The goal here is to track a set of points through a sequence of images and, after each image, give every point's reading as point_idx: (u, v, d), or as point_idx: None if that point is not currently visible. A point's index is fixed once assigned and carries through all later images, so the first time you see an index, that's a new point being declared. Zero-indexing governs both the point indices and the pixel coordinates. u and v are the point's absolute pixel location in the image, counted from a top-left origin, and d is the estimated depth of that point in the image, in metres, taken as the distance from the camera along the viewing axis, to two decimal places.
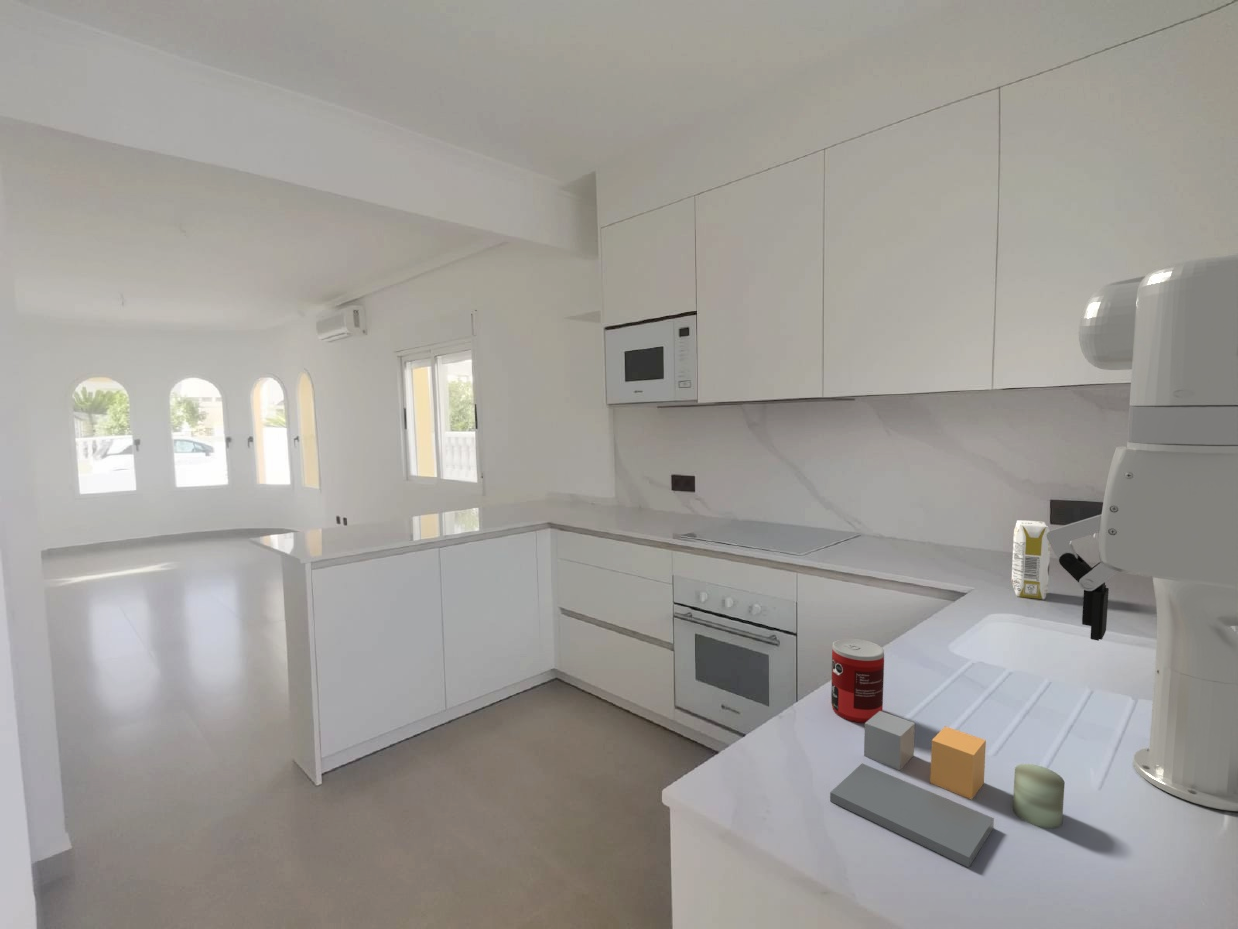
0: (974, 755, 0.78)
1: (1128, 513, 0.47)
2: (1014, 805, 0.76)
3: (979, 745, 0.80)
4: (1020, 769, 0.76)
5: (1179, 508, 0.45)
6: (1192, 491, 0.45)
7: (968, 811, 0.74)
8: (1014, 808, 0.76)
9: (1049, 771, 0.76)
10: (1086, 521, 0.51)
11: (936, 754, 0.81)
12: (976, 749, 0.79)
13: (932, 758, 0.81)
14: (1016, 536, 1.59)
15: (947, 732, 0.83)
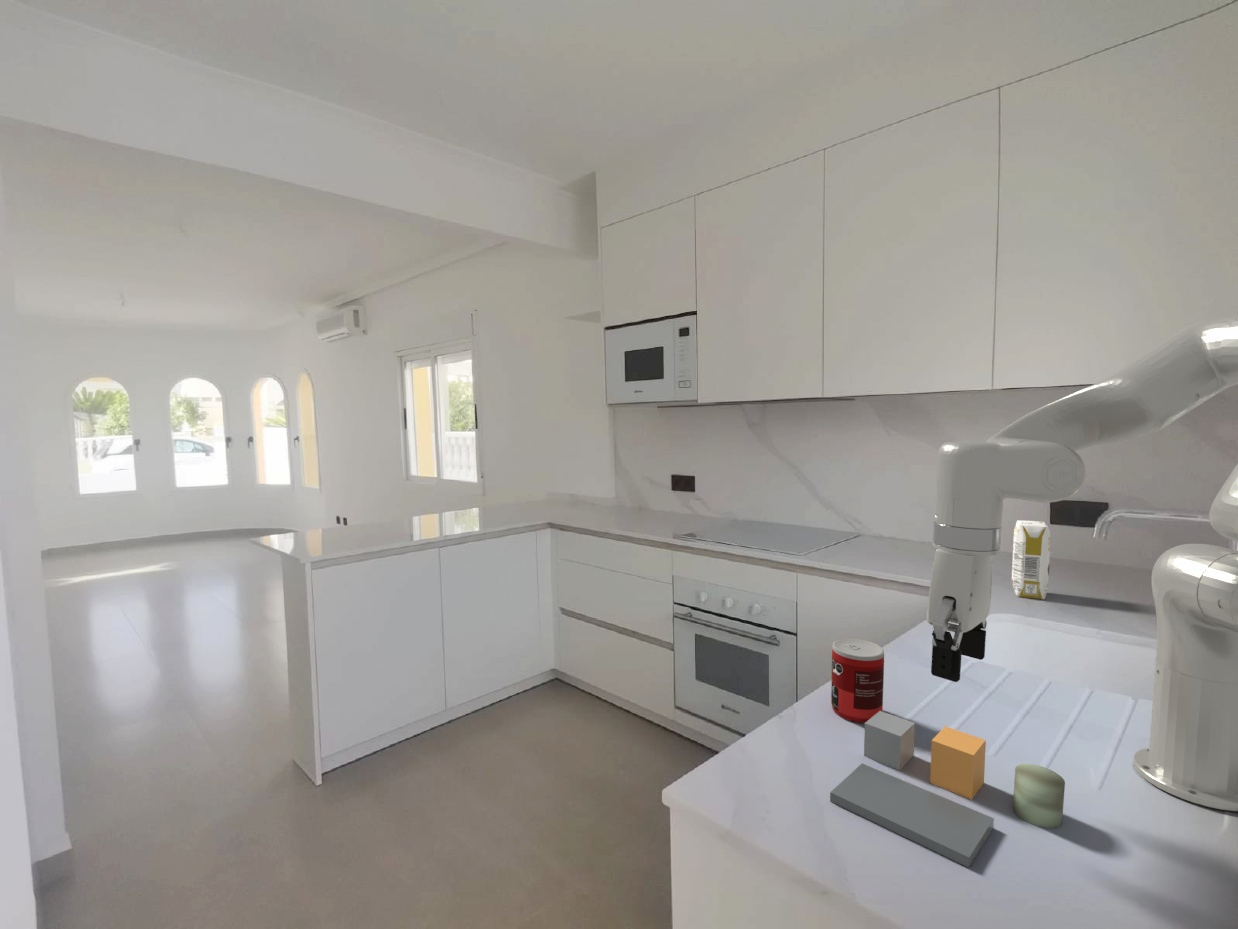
0: (974, 755, 0.78)
1: None
2: (1014, 805, 0.76)
3: (979, 745, 0.80)
4: (1020, 768, 0.76)
5: (984, 585, 0.77)
6: (986, 574, 0.77)
7: (968, 811, 0.74)
8: (1014, 808, 0.76)
9: (1049, 771, 0.76)
10: (951, 606, 0.75)
11: (936, 754, 0.81)
12: (976, 749, 0.79)
13: (932, 758, 0.81)
14: (1016, 536, 1.59)
15: (947, 732, 0.83)
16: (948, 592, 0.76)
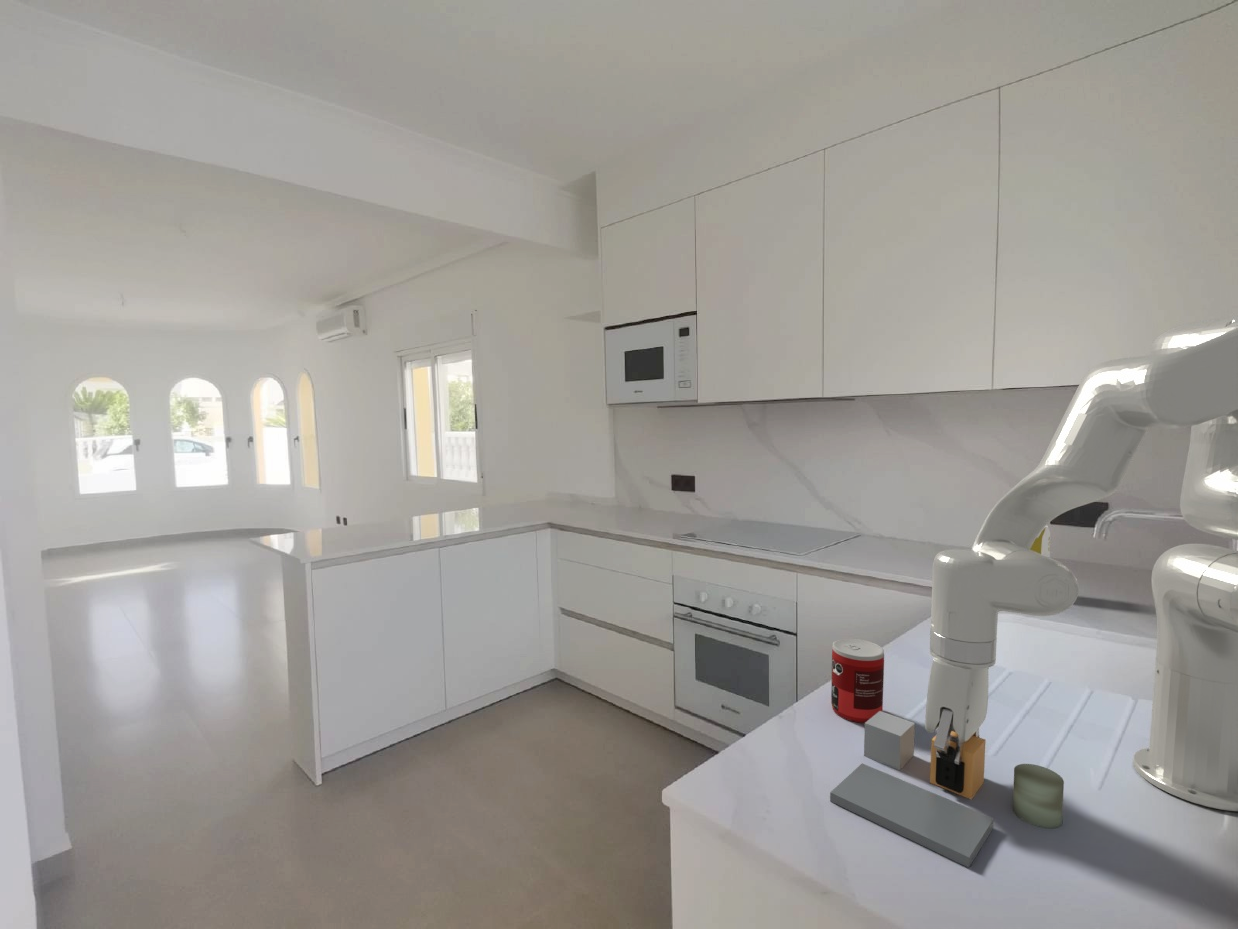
0: (974, 755, 0.78)
1: (969, 706, 0.77)
2: (1014, 805, 0.76)
3: (979, 745, 0.80)
4: (1019, 769, 0.76)
5: (980, 694, 0.78)
6: (983, 683, 0.79)
7: (968, 811, 0.74)
8: (1014, 808, 0.76)
9: (1048, 770, 0.76)
10: (950, 725, 0.77)
11: None
12: (976, 749, 0.79)
13: (932, 758, 0.81)
14: None
15: None
16: (945, 703, 0.77)
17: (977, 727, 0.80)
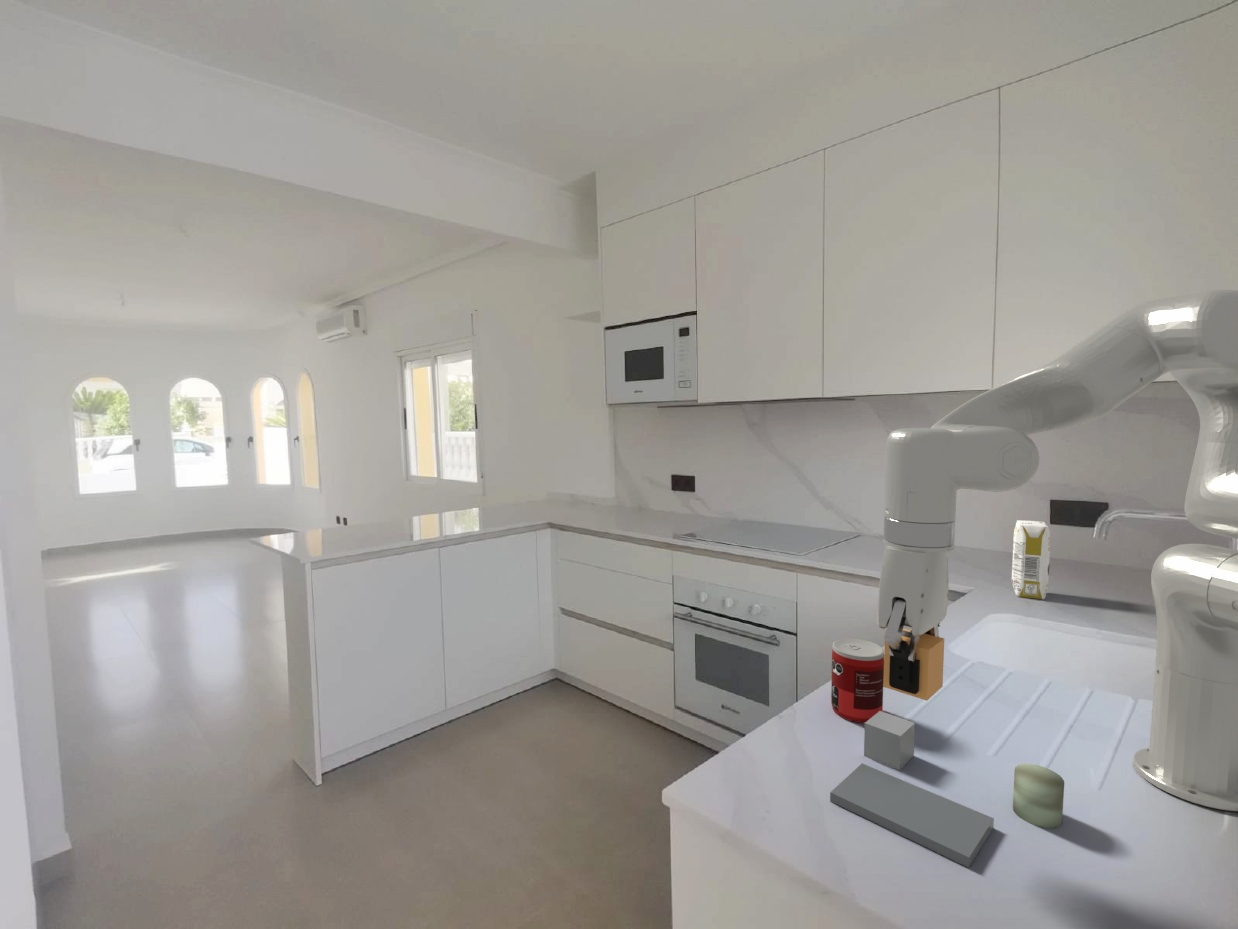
0: (929, 650, 0.70)
1: (924, 595, 0.69)
2: (1015, 806, 0.76)
3: (936, 642, 0.72)
4: (1020, 769, 0.76)
5: (938, 584, 0.71)
6: (940, 572, 0.71)
7: (968, 811, 0.74)
8: (1015, 809, 0.76)
9: (1048, 770, 0.76)
10: (902, 615, 0.69)
11: None
12: (932, 645, 0.71)
13: (885, 659, 0.74)
14: (1016, 536, 1.59)
15: None
16: (898, 593, 0.70)
17: (935, 623, 0.72)
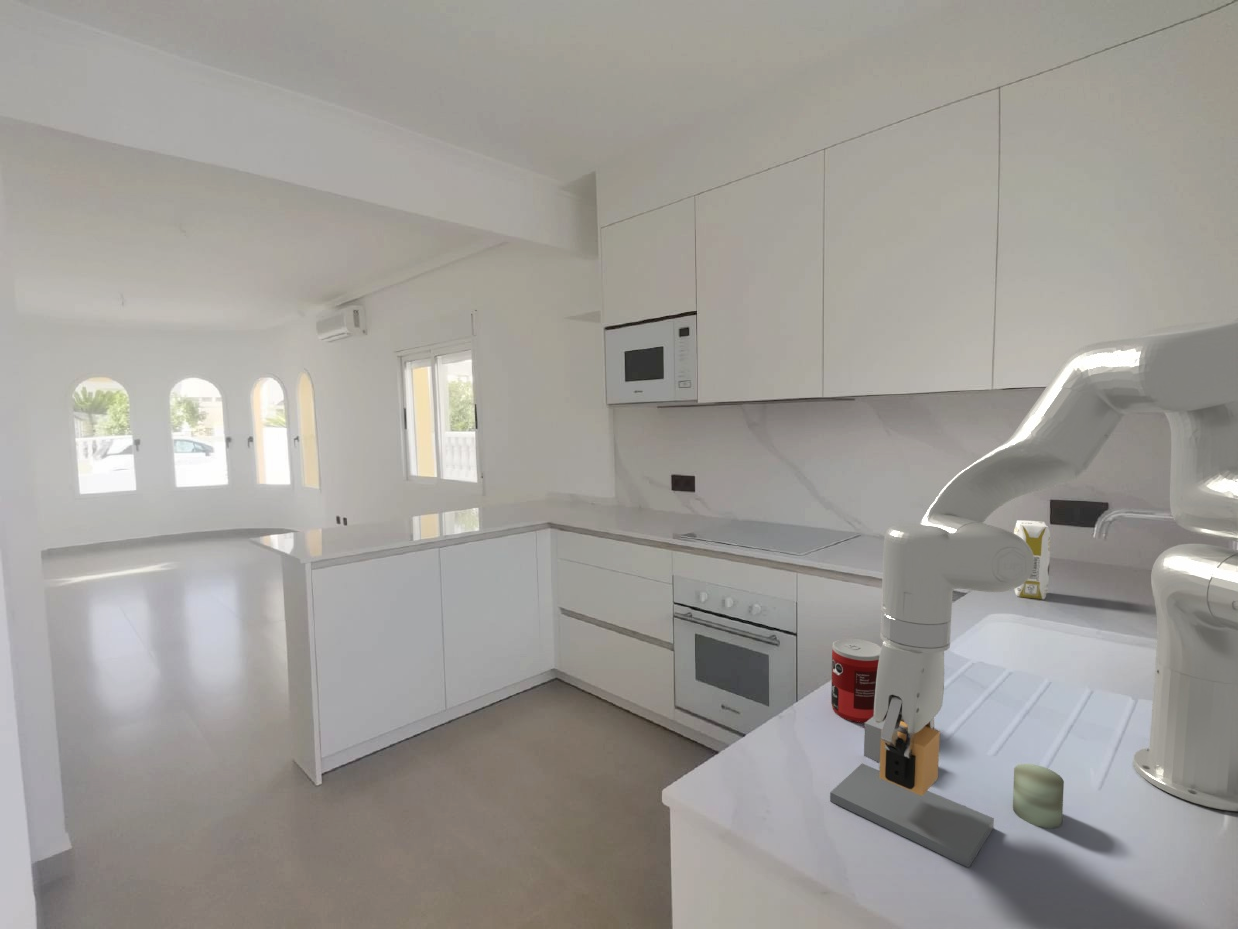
0: (925, 747, 0.71)
1: None
2: (1015, 806, 0.76)
3: (932, 736, 0.73)
4: (1019, 769, 0.76)
5: (933, 681, 0.72)
6: (936, 669, 0.72)
7: (968, 811, 0.74)
8: (1015, 809, 0.76)
9: (1047, 770, 0.76)
10: (898, 714, 0.70)
11: None
12: (928, 741, 0.72)
13: (881, 750, 0.75)
14: None
15: None
16: (894, 691, 0.71)
17: (930, 717, 0.73)
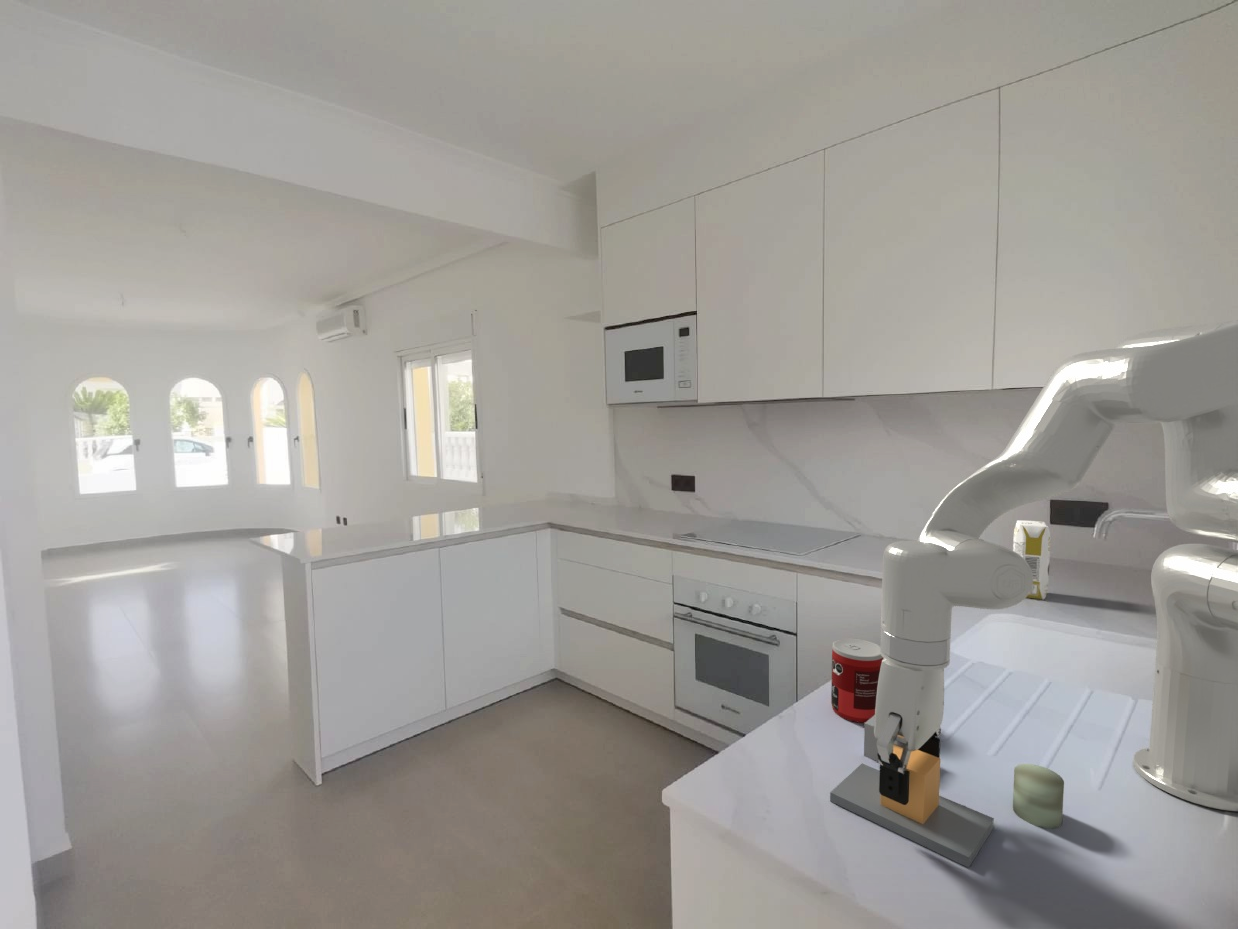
0: (925, 775, 0.72)
1: None
2: (1015, 806, 0.76)
3: (932, 764, 0.74)
4: (1019, 769, 0.76)
5: (933, 698, 0.72)
6: (936, 686, 0.72)
7: (968, 811, 0.74)
8: (1015, 809, 0.76)
9: (1046, 770, 0.76)
10: (897, 726, 0.70)
11: None
12: (928, 769, 0.73)
13: None
14: (1016, 536, 1.59)
15: (900, 749, 0.77)
16: (894, 708, 0.71)
17: (930, 734, 0.73)
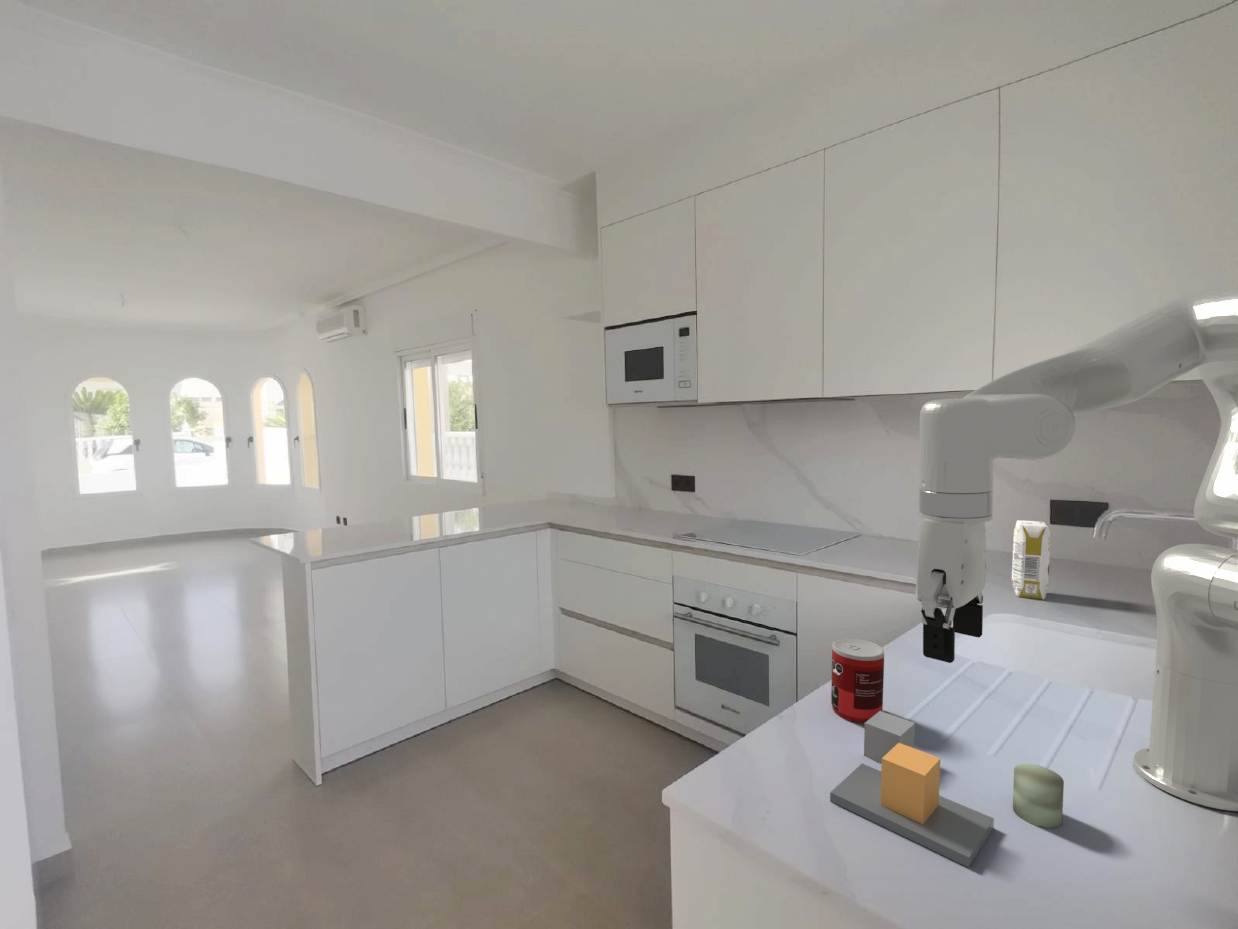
0: (925, 775, 0.72)
1: (964, 566, 0.69)
2: (1015, 807, 0.76)
3: (932, 764, 0.74)
4: (1019, 769, 0.76)
5: (977, 555, 0.70)
6: (979, 543, 0.71)
7: (968, 811, 0.74)
8: (1015, 810, 0.76)
9: (1046, 769, 0.76)
10: (941, 580, 0.68)
11: (887, 773, 0.75)
12: (928, 769, 0.73)
13: (882, 778, 0.75)
14: (1016, 536, 1.59)
15: (900, 749, 0.77)
16: (937, 565, 0.69)
17: (974, 594, 0.71)
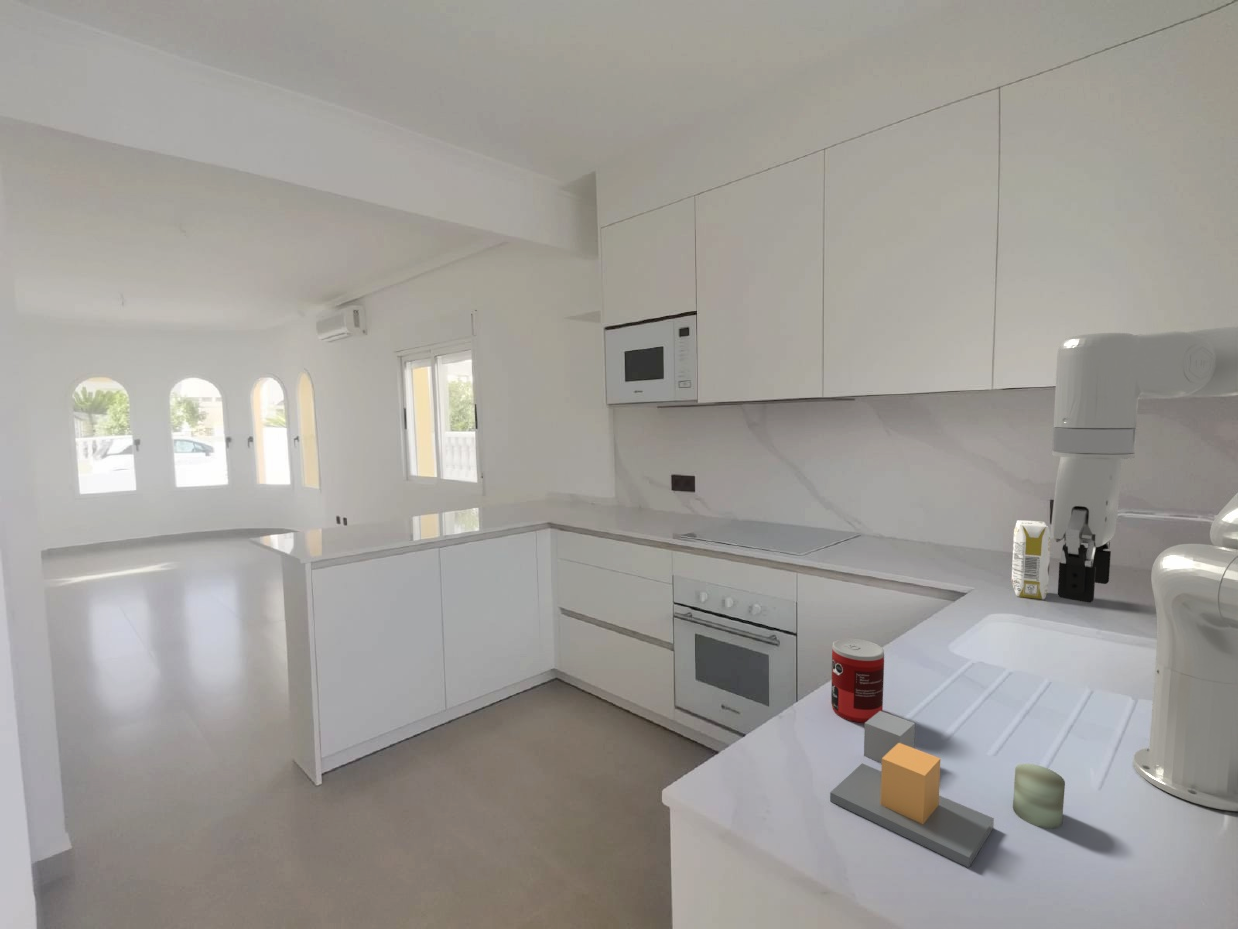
0: (925, 775, 0.72)
1: None
2: (1015, 807, 0.75)
3: (932, 764, 0.74)
4: (1020, 769, 0.76)
5: (1116, 494, 0.69)
6: (1119, 482, 0.69)
7: (968, 811, 0.74)
8: (1015, 810, 0.75)
9: (1047, 770, 0.76)
10: (1084, 516, 0.66)
11: (887, 773, 0.75)
12: (928, 769, 0.73)
13: (882, 778, 0.75)
14: (1016, 536, 1.59)
15: (900, 749, 0.77)
16: (1079, 502, 0.67)
17: (1110, 536, 0.70)
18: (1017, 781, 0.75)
